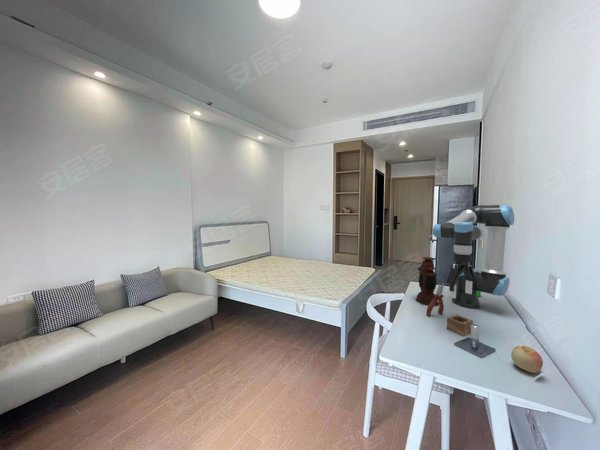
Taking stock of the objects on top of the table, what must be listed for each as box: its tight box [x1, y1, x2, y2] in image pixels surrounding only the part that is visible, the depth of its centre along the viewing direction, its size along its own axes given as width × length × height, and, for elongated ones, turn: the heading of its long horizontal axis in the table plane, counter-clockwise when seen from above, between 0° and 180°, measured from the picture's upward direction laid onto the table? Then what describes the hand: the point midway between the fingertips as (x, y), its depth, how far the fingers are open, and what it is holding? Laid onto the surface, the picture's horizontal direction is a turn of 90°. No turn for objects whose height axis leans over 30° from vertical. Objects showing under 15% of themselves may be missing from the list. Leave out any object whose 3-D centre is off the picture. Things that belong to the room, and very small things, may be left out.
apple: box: [510, 345, 544, 374], centre depth 92 cm, size 9×9×8 cm
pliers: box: [426, 282, 445, 317], centre depth 138 cm, size 12×20×3 cm
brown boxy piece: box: [446, 314, 474, 337], centre depth 122 cm, size 8×8×6 cm
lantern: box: [415, 256, 439, 307], centre depth 158 cm, size 17×14×30 cm
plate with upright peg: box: [453, 323, 496, 359], centre depth 106 cm, size 11×11×10 cm
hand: (460, 295), depth 121 cm, fingers open, 13 cm apart
